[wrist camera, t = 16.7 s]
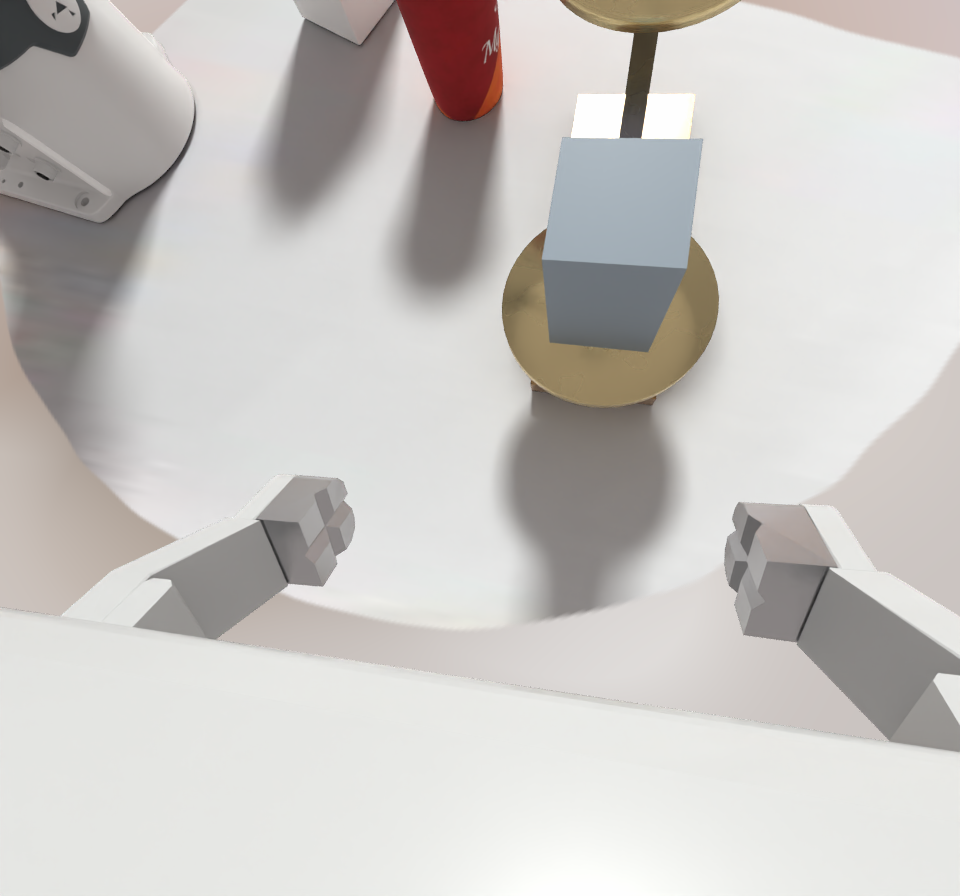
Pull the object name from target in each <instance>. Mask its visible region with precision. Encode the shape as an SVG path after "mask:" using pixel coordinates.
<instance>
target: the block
mask: <svg viewBox="0 0 960 896" xmlns="http://www.w3.org/2000/svg"><path fill="white" fill-rule="evenodd" d="M702 143H703V139H668V138H575V137H562V142H561V148H560V154H559V160H558V166H557V172H556V178H555V184H554V190H553V196H552V202H551V208H550V214H549V220H548V226H547V231H546V237H545V243H544V249H543V255H542V267H543V277H544V288H545V299H546V309H547V320H548V331H549V341H550V343H559V344H569V345H579V346H589V347H599V348H609V349H619V350H629V351H639V352H648V351H649V349H650V347H651V345H652V343H653V341H654V339H655V336H656V334H657V332H658V330H659V328H660V326H661V323H662V321H663V319H664V317H665V315H666V313H667V310H668V308H669V306H670V304H671V302H672V300H673V298H674V295H675V293H676V291H677V289H678V287H679V285H680V282H681V280H682V278H683V276H684V274H685V272H686V269H687V264H688V256H689V248H690V240H691V231H692V223H693V215H694V207H695V199H696V191H697V183H698V175H699V167H700V159H701V151H702Z"/></svg>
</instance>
